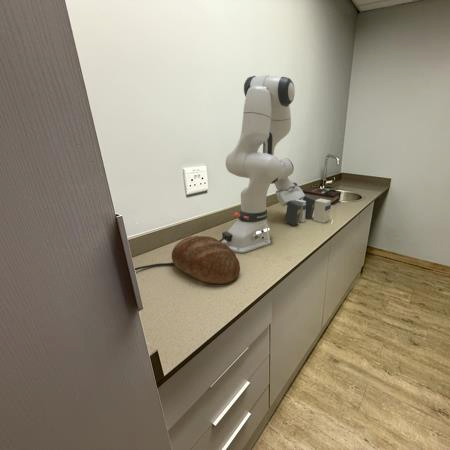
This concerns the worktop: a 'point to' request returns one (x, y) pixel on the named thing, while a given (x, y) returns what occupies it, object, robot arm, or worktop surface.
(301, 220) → the white book
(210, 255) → the bread
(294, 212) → the grey book left
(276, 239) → the worktop surface
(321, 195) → the decorative book
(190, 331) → the worktop surface
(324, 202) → the white book
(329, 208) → the white book
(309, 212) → the grey book right
